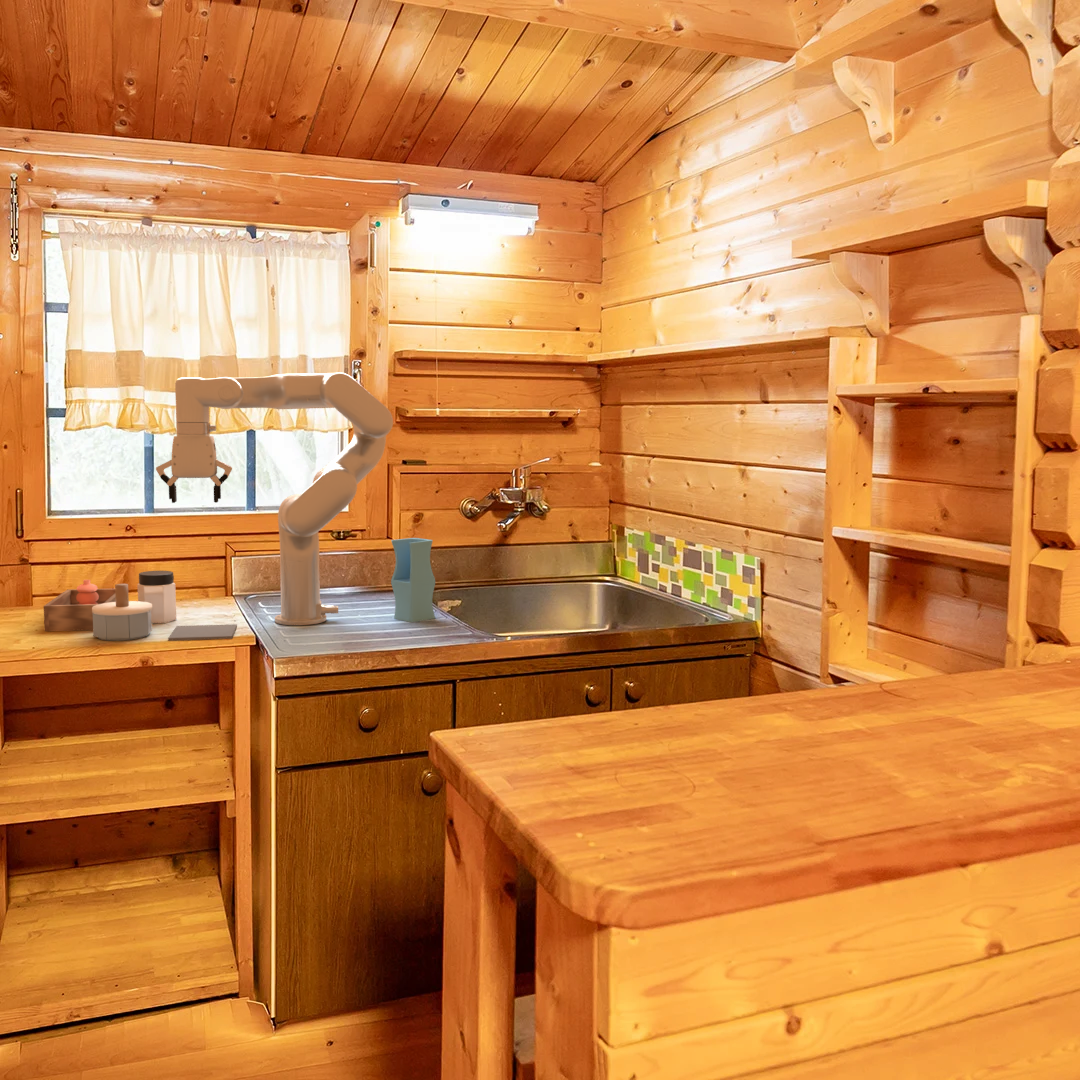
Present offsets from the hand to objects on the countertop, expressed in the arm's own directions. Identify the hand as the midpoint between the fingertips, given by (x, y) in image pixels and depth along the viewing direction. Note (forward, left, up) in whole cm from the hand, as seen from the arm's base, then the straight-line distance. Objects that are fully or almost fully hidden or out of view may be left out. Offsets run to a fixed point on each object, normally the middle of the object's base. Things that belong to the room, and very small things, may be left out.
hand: (195, 502), depth 262 cm
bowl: (+16, +8, -30) cm, 35 cm away
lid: (+16, +8, -24) cm, 30 cm away
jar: (+11, -10, -31) cm, 34 cm away
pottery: (+28, -10, -31) cm, 43 cm away
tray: (+28, -12, -30) cm, 43 cm away
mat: (-2, +8, -30) cm, 31 cm away
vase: (-52, -4, -31) cm, 60 cm away
